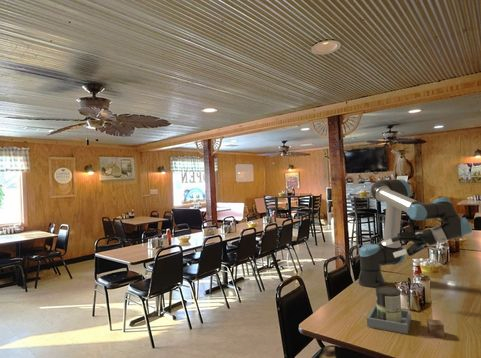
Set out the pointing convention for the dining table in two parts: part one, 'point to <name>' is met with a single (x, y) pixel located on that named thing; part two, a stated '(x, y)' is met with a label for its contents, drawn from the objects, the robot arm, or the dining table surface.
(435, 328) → the walnut block
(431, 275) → the dining table surface
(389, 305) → the coffee can
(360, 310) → the dining table surface
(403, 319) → the tray
